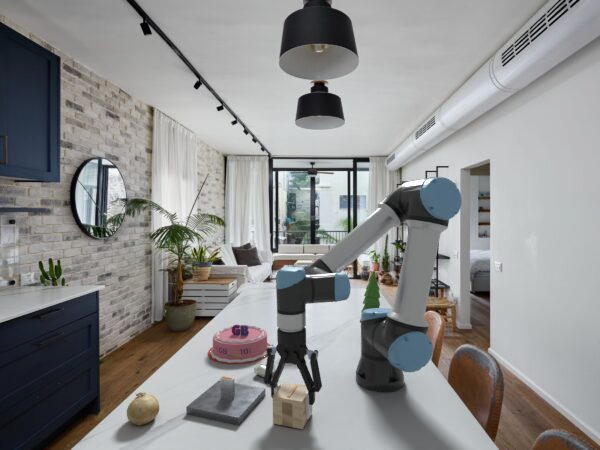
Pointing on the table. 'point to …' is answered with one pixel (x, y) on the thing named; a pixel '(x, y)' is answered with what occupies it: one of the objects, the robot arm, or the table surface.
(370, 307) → the decorative tree
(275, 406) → the taped cardboard box
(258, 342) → the cake
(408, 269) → the robot arm
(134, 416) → the onion
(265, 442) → the table surface
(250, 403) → the grey piece
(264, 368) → the pipe fitting
